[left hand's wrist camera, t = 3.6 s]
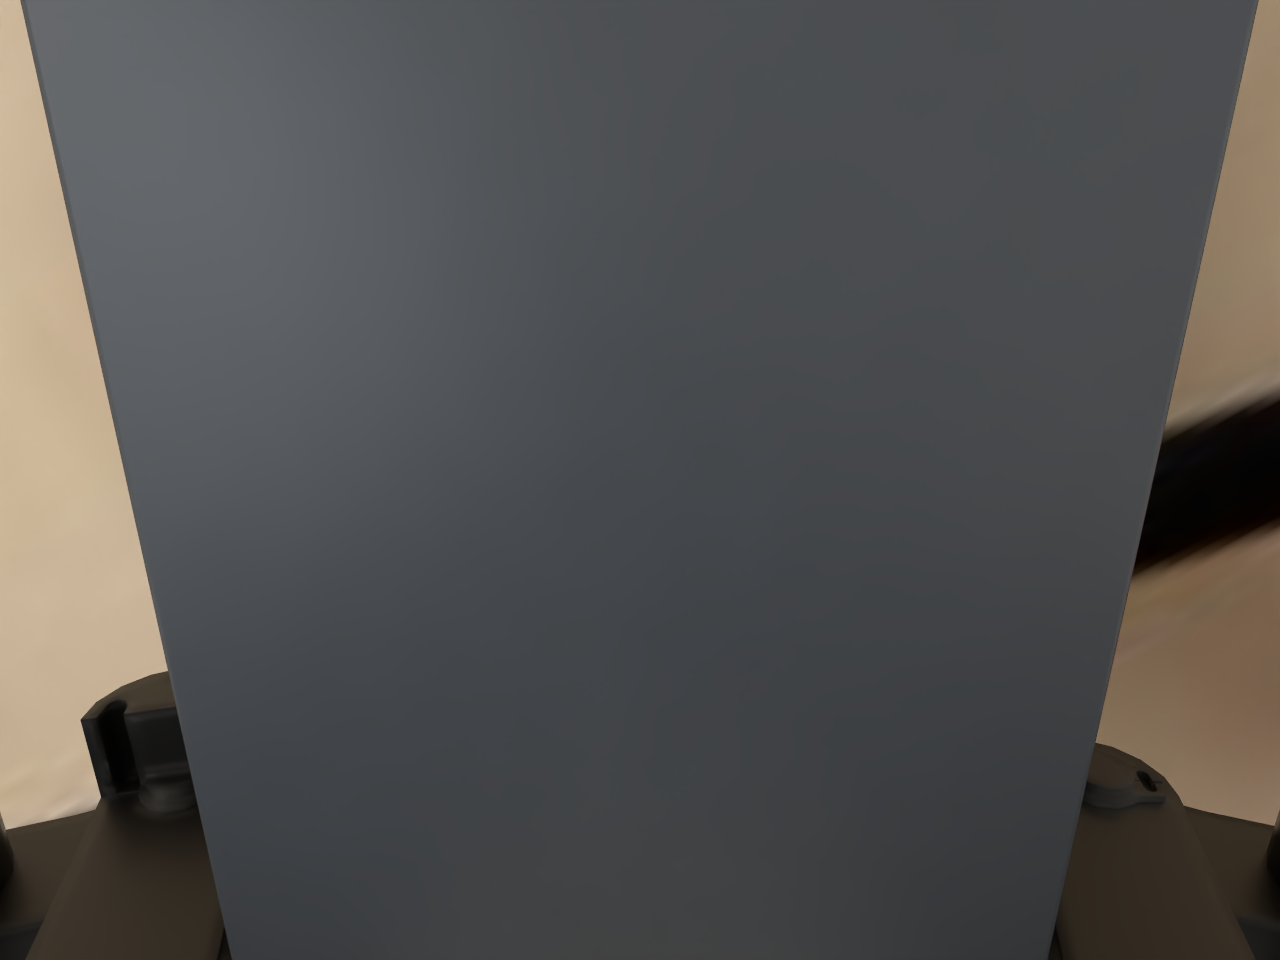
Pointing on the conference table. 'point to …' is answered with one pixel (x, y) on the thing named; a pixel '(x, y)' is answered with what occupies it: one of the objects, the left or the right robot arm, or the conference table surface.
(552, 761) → the bar
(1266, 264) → the conference table surface
